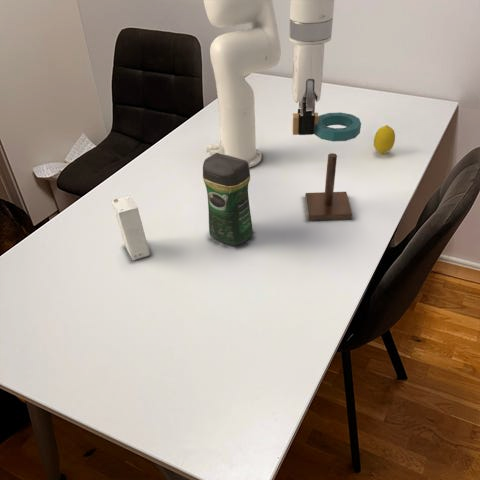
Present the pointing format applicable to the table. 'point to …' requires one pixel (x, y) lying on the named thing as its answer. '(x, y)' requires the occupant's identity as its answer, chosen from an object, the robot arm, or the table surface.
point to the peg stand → (328, 198)
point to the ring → (332, 119)
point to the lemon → (384, 139)
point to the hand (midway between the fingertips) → (305, 130)
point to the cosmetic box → (131, 227)
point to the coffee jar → (228, 198)
